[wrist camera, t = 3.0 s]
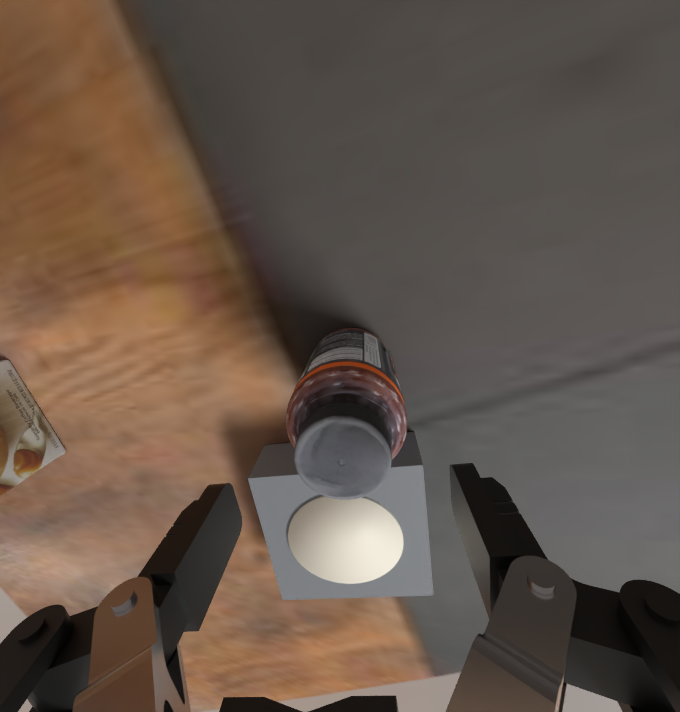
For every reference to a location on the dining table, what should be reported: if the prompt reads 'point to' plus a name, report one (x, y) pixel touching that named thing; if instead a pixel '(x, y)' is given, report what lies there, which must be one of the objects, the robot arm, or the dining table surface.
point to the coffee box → (22, 432)
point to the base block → (344, 530)
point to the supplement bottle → (347, 415)
